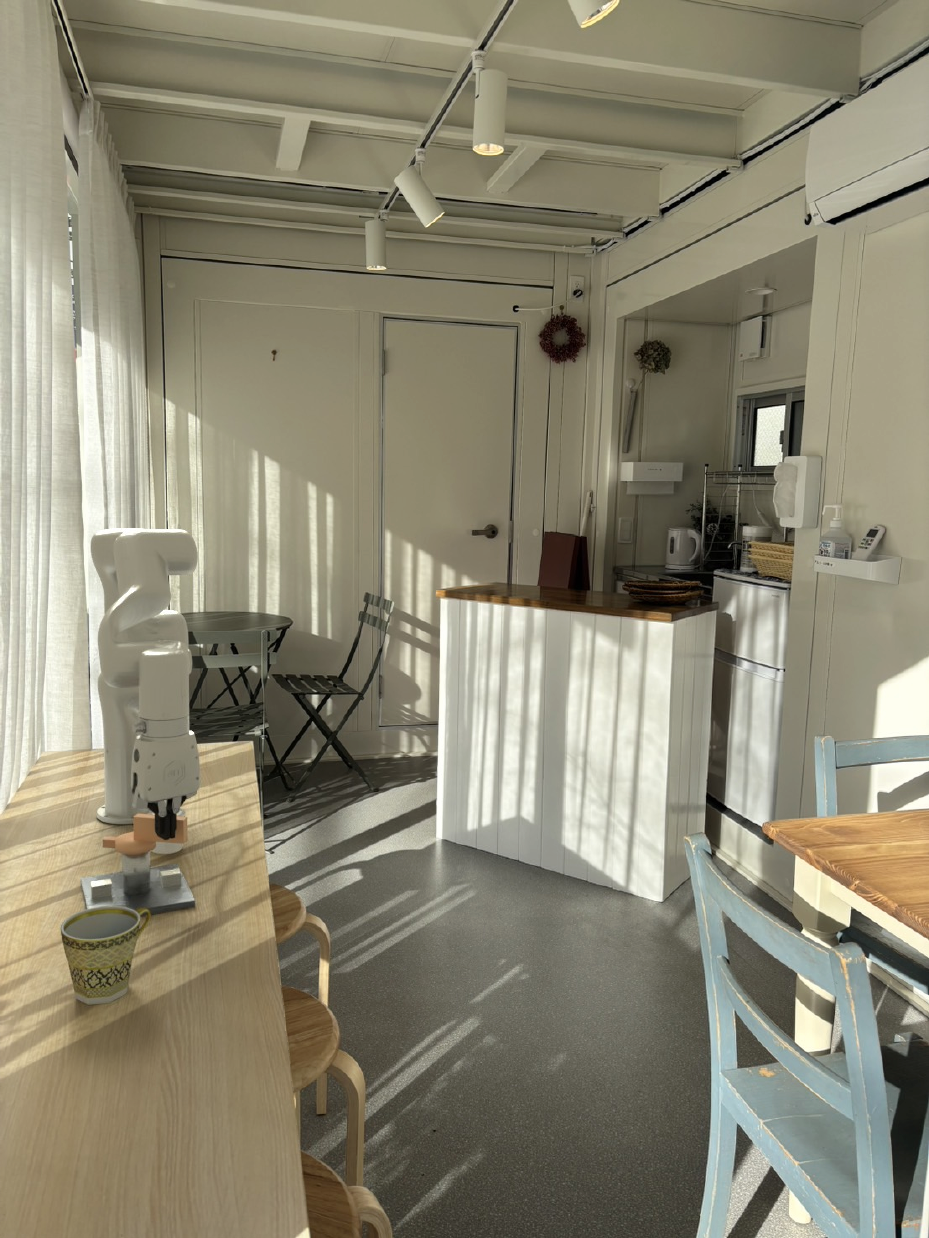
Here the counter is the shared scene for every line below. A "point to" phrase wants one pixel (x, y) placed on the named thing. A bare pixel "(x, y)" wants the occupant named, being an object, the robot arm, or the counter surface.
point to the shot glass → (168, 847)
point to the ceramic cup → (101, 950)
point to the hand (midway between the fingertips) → (165, 836)
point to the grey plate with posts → (139, 887)
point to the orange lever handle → (144, 836)
